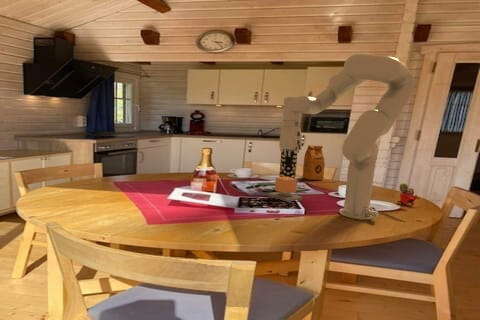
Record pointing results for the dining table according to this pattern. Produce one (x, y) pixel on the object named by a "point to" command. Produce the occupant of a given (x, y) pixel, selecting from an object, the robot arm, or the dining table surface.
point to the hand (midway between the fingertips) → (288, 165)
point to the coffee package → (313, 163)
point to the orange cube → (285, 184)
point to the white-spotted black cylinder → (288, 167)
